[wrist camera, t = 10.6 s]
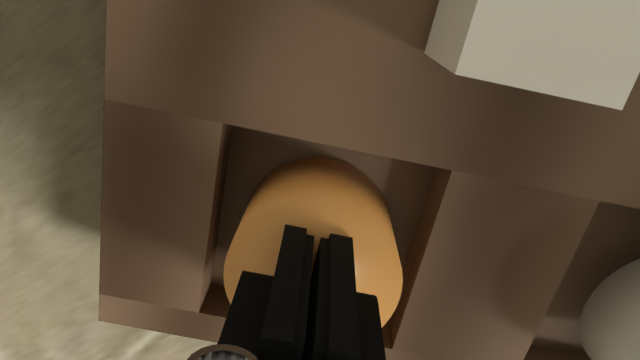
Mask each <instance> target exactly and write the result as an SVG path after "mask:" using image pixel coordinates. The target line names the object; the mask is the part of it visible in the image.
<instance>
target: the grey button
mask: <svg viewBox="0 0 640 360" xmlns="http://www.w3.org/2000/svg"><path fill="white" fill-rule="evenodd" d="M579 336H580V340H581V344H582V346H583V348H584V350H585V352H586V353H587V355H588V356H589V357H590V359H591V360H640V259H638V260H635V261H633V262H631V263H629V264H627V265H625V266H623V267H621V268H620V269H618V270H617V271H615V272H613V273H612V274H611V275H610V276H608V277H607V278H606V279H605V280H603V281H602V282H601V283H600V284H599V285H598V287H597V288H596V289H595V290H594V291H593V293H592V294H591V295H590V297H589V298H588V300H587V302H586V303H585V306H584V308H583V310H582V313H581V317H580V321H579Z"/></svg>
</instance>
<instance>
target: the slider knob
mask: <svg viewBox="0 0 640 360" xmlns="http://www.w3.org/2000/svg"><path fill="white" fill-rule="evenodd" d="M424 53H425V54H426V55H427V56H429V57H430V58H432V59H433V60H435V61H436V62H438V63H439V64H441V65H442V66H443V67H445V68H446V69H448V70H449V71H451V72H452V73H454V74H455V75H460V76H465V77H469V78H474V79H479V80H483V81H488V82H493V83H497V84H502V85H507V86H511V87H516V88H521V89H525V90H530V91H535V92H539V93H544V94H548V95H553V96H558V97H562V98H567V99H572V100H576V101H581V102H586V103H590V104H595V105H600V106H604V107H609V108H614V109H618V110H623V107H624V105H625V103H626V101H627V99H628V97H629V94H630V92H631V90H632V88H633V86H634V84H635V81H636V79H637V77H638V75H639V73H640V0H439V3H438V6H437V10H436V13H435V17H434V20H433V24H432V28H431V31H430V35H429V38H428V42H427V45H426V49H425V52H424Z"/></svg>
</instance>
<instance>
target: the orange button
mask: <svg viewBox="0 0 640 360" xmlns="http://www.w3.org/2000/svg"><path fill="white" fill-rule="evenodd" d="M285 224H286V225H292V226H297V227H302V228H307V232H306V234H307V235H312V236H314V246H313V258H312V269H311V276H312V272H313V268H314V263H315V259H316V255H317V251H318V246H319V242H320V238H321V237H323V238H328V239H329V236H330V233H333V234H338V235H343V236H348V237H352V238H353V250H354V264H355V278H356V292H360V293H365V294H370V295H375V296H376V297H377V299H378V305H379V312H380V319H381V327H383V326H384V325H385V324H386V323H387V321H388V320H389V319H390V318H391V316H392V314H393V313H394V311H395V309H396V307H397V305H398V302H399V300H400V296H401V292H402V284H403V275H402V267H401V263H400V258H399V254H398V250H397V245H396V241H395V237H394V233H393V228H392V224H391V220H390V215H389V211H388V207H387V204H386V201H385V199H384V197H383V195H382V193H381V191H380V190H379V189H378V187H377V186H376V185H375V183H374V182H373V181H372V180H371V179H370V178H369V177H368V176H367V175H365V174H364V173H363V172H361V171H360V170H358V169H356V168H355V167H353V166H351V165H349V164H346V163H344V162H341V161H337V160H333V159H327V158H306V159H300V160H296V161H292V162H290V163H287V164H284V165H282V166H281V167H279V168H277V169H275V170H274V171H272V172H271V173H270V174H268V175H267V176H266V177H265V178H264V179H263V180H262V181H261V182H260V184H259V185H258V186H257V187H256V189H255V191H254V192H253V194H252V196H251V198H250V201H249V203H248V205H247V208H246V210H245V212H244V215H243V217H242V219H241V222H240V224H239V226H238V229H237V231H236V233H235V236H234V238H233V240H232V243H231V245H230V248H229V250H228V253H227V255H226V259H225V263H224V273H223V277H224V287H225V291H226V295H227V297H228V300H229V302H230V305H231V303H232V300H233V297H234V294H235V291H236V288H237V285H238V282H239V279H240V276H241V273H242V271H243V270H244V271H249V272H255V273H260V274H265V275H270V276H274V274H275V269H276V264H277V260H278V255H279V251H280V246H281V242H282V237H283V232H284V228H285Z"/></svg>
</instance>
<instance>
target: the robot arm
mask: <svg viewBox="0 0 640 360" xmlns="http://www.w3.org/2000/svg"><path fill="white" fill-rule="evenodd" d="M306 232H307V228H302V227H297V226H292V225H286V224H285V228H284V232H283V237H282V242H281V246H280V251H279V255H278V260H277V264H276V269H275V274H274V276H270V275H265V274H260V273H255V272H249V271H244V270H243V271H242V273H241V276H240V279H239V282H238V285H237V288H236V291H235V294H234V297H233V300H232V303H231V306H230V308H229V311H228V314H227V317H226V320H225V323H224V326H223V329H222V332H221V335H220V338H219V341H218V344H217V345H211V346H208V347H204V348H201V349H200V350H198V351H196V352H195V353H193V354H191V356H190V357H189V358H188V359H187V360H386V356H385V348H384V341H383V334H382V327H381V319H380V312H379V305H378V299H377V297H376V296H375V295H370V294H365V293H360V292H356V278H355V264H354V250H353V238H352V237H348V236H343V235H338V234H333V233H330V236H329V239H328V238H323V237H321V238H320V242H319V246H318V251H317V255H316V259H315V263H314V268H313V272H312V276H311V269H312V258H313V246H314V236H312V235H307V234H306Z"/></svg>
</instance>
